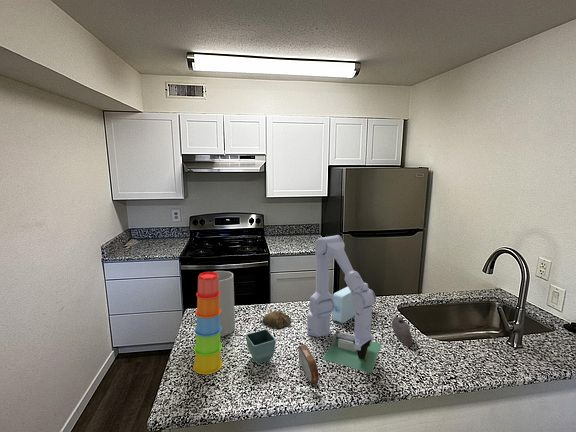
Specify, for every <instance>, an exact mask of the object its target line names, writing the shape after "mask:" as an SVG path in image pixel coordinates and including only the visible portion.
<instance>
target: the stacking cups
mask: <svg viewBox="0 0 576 432" xmlns="http://www.w3.org/2000/svg"><path fill="white" fill-rule="evenodd" d="M195 295H196V297H197V299H196V300H197V301H196V306H197V307H196V311H195V315H196V327H195V329H194V333H195V345H194V347H193V351H194V353H195V354H194V355H195V356H194V357H195V358H194V361H195V362H194V363H193V366H192V368H193V370H194V372H195V373H197V374H200V375H211V374H214V373H216V372H218V371H219V370H220V369H222V367H223V363H224V361H223V359H222V357H221V350H222V349H223V344H222V342H221V336H220V331H221V326H220V313H221V309H220V308H219V295H220V291H219V276H218V274H217V273H215V271H204V272H201V273H199V275H198V276H197V292H196V294H195Z"/></svg>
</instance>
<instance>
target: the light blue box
mask: <svg viewBox="0 0 576 432" xmlns="http://www.w3.org/2000/svg"><path fill="white" fill-rule="evenodd" d="M364 284H365V285H366V287H368V288H369V284H368V283H366V282H364ZM332 295H333V300H334V304H335V307H334V310H333V311H332V314H331V315H332V318H331V319H332V320H333V321H335V322H338V323H340V324H344V323H346V322H347V321H349V320H350V319H352V318H353V317H354V318H355V311H354V305H353V302H352V298H353V295H352V293H351V291H350V289H349V287H348V285H347V286H346V287H343V288H342V289H340V290H338V291H336V292H334V293H333V294H332Z"/></svg>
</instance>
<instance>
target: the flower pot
mask: <svg viewBox="0 0 576 432" xmlns="http://www.w3.org/2000/svg"><path fill="white" fill-rule="evenodd" d="M245 338H246V345H247V348H248V352H249V353H250V355H251V356H252V358H253V360H254V361H255V362H256V364H257V365H259V364H261V363H265V362H268V361H270V360H271V359H272V358H273V356H274V353H275V350H276V349H275V348H276V341H277V340H276V338H275V336H273V334H272V333H270V331H269V330H268V329H267V328H264V329H261V330H258V331H254V332H250V333H247V334H245Z"/></svg>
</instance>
